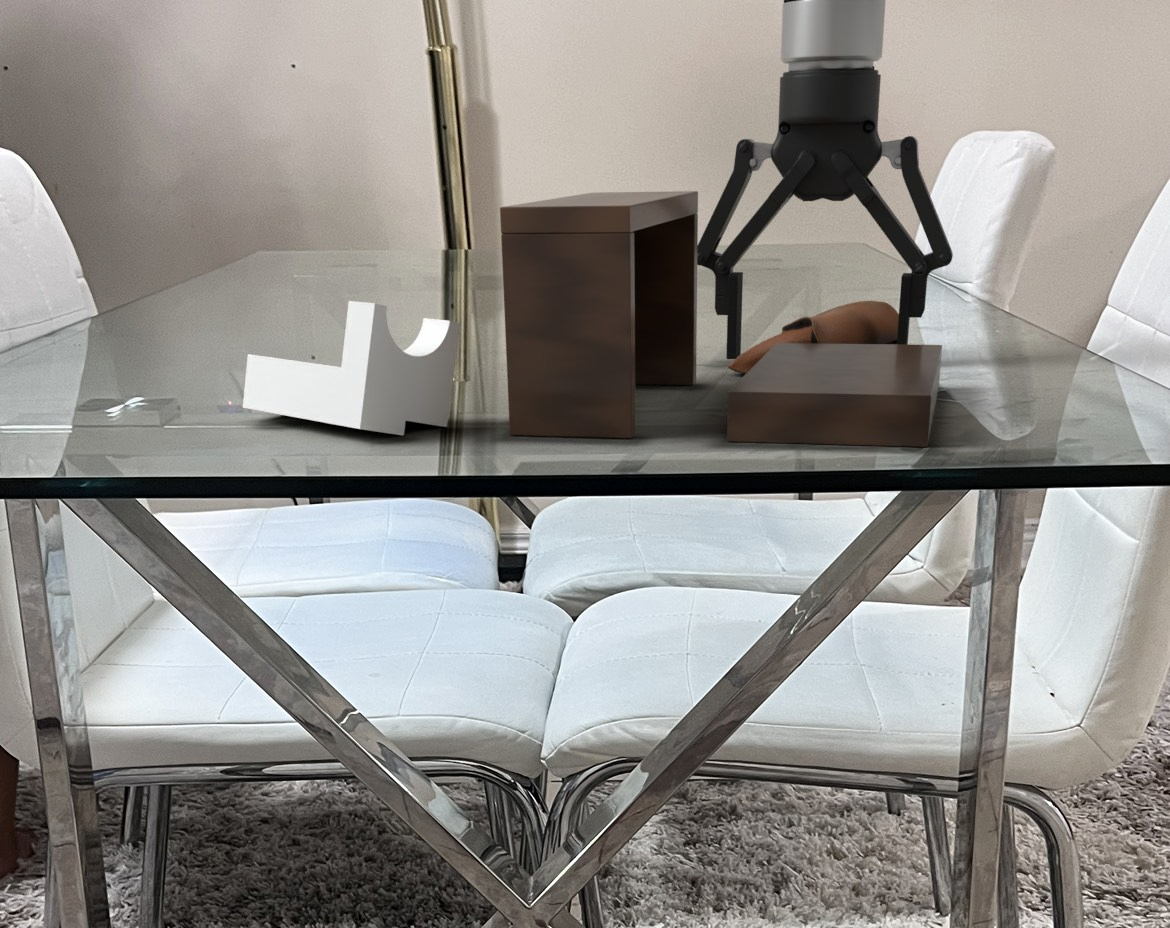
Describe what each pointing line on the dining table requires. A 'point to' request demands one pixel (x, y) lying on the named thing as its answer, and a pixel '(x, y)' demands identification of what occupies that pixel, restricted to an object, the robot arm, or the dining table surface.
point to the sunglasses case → (831, 330)
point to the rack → (672, 335)
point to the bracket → (363, 377)
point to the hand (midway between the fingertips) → (816, 359)
